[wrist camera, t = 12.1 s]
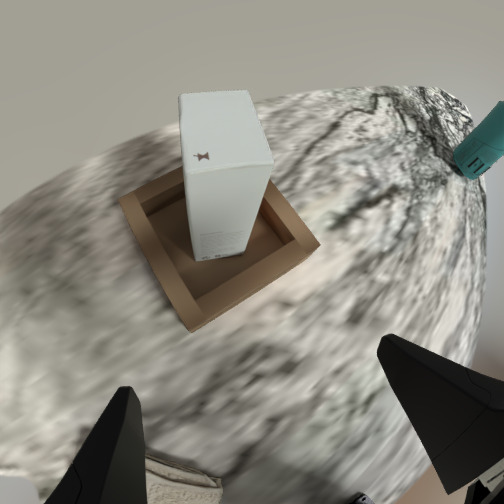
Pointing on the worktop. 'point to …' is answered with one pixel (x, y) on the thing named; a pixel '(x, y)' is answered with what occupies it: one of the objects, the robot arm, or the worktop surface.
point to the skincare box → (222, 170)
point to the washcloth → (179, 484)
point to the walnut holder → (220, 269)
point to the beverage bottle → (482, 145)
